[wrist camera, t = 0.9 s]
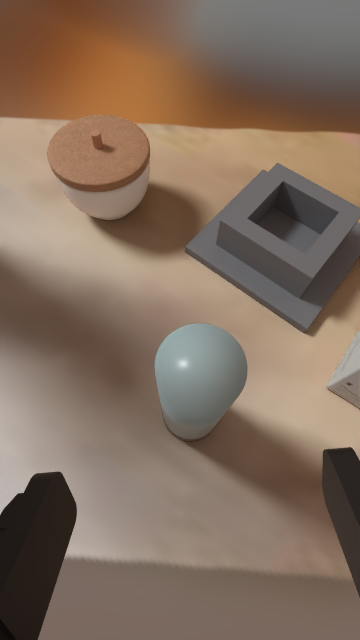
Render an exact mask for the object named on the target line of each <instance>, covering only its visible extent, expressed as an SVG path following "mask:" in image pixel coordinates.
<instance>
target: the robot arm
mask: <svg viewBox="0 0 360 640" xmlns="http://www.w3.org/2000/svg"><path fill="white" fill-rule="evenodd" d="M322 486H323V493H324V498H325V502H326V505H327V509H328V511H329V514H330V517H331V520H332V522H333V525H334V528H335V531H336V533H337V536H338V539H339V542H340V544H341V547H342V550H343V553H344V555H345V558H346V561H347V563H348V566H349V569H350V572H351V574H352V577H353V580H354V583H355V585H356V588H357V591H358V594H359V596H360V460H359V459H358V457H357V455H356V453H355V451H354V450H353V449H352V448H351V447H348V448H337V449H325V450H324V451H323V474H322ZM76 516H77V507H76V502H75V500H74V498H73V496H72V493H71V491H70V489H69V487H68V485H67V483H66V481H65V478H64V476H63V474H62V473H61V472H48V473H37V474H35V475H34V476H33V477H32V478H31V480H30V481H29V483H28V485H27V487H26V489H25V491H24V493H19V494H17V495H16V496H15V497H14V498H13V500H12V501H11V502H10V503H9V504H8V505H7V506H6V507H5V508H4V510H3V511H2V513H1V515H0V640H37V639H38V637H39V634H40V631H41V628H42V624H43V621H44V618H45V615H46V612H47V609H48V606H49V603H50V600H51V597H52V594H53V590H54V587H55V584H56V581H57V578H58V575H59V572H60V569H61V566H62V562H63V560H64V556H65V553H66V550H67V547H68V544H69V541H70V538H71V535H72V532H73V529H74V526H75V522H76Z"/></svg>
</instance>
